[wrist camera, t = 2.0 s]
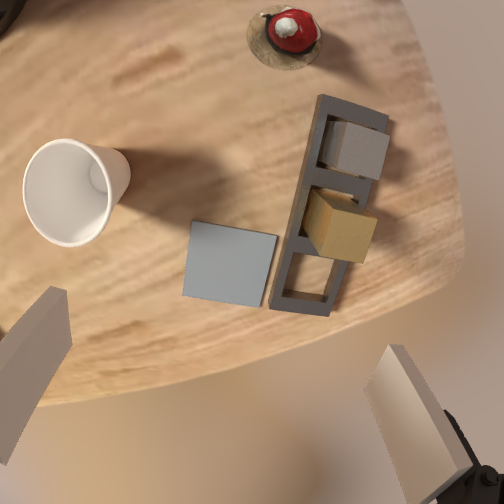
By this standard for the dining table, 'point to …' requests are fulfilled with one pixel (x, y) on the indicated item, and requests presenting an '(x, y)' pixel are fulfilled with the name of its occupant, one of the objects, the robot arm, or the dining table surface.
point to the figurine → (284, 37)
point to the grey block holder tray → (308, 177)
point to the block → (354, 149)
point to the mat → (227, 263)
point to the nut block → (338, 226)
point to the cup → (73, 190)
